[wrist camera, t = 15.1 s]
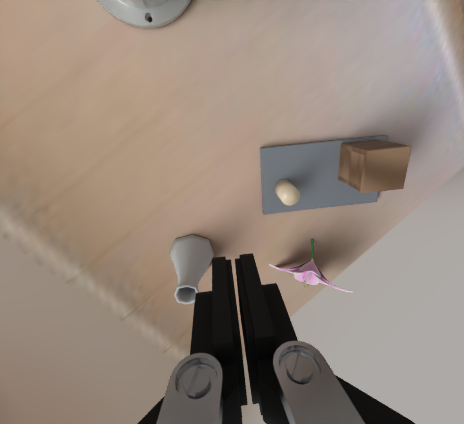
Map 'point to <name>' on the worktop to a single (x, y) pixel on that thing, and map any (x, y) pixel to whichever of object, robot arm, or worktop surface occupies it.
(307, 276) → the lily
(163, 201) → the worktop surface
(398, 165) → the wooden grain cube
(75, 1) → the worktop surface
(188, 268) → the flask
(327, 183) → the slate stand
